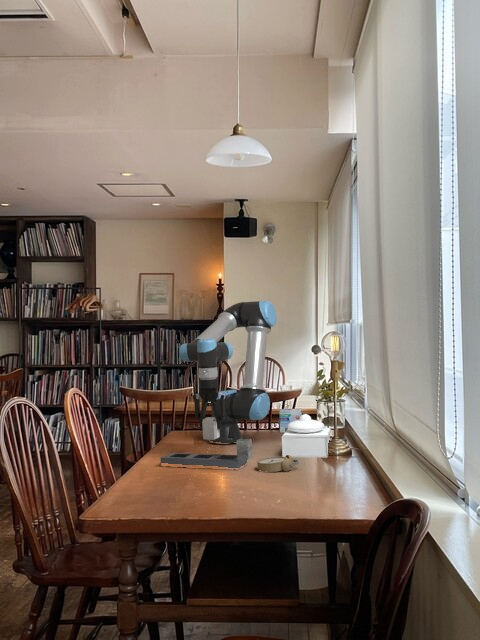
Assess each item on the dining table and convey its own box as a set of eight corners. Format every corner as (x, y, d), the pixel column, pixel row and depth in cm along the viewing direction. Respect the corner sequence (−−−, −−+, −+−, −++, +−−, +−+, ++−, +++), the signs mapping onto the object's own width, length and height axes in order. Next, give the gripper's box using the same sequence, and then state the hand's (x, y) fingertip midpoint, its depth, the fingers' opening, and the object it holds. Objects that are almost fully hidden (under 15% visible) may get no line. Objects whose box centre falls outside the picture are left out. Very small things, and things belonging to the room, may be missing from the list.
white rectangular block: (241, 459, 243) (240, 438, 243) (252, 459, 241) (251, 438, 241) (237, 461, 238) (236, 440, 239) (248, 462, 237) (247, 440, 237)
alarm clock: (258, 458, 230) (298, 450, 227) (261, 471, 230) (301, 464, 227) (253, 464, 219) (295, 457, 216) (256, 478, 219) (298, 471, 216)
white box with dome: (288, 449, 261) (286, 411, 261) (331, 449, 257) (329, 410, 257) (282, 457, 243) (280, 417, 244) (328, 458, 240) (326, 416, 240)
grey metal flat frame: (172, 461, 242) (171, 452, 242) (247, 464, 232) (246, 455, 232) (160, 466, 233) (160, 457, 233) (238, 470, 223) (237, 460, 223)
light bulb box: (279, 432, 301) (278, 410, 301) (281, 430, 308) (280, 408, 308) (301, 432, 299) (301, 410, 300) (302, 430, 306) (301, 408, 306)
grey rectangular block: (208, 437, 248) (207, 417, 248) (218, 437, 246) (217, 417, 246) (203, 439, 244) (202, 419, 244) (214, 439, 242) (213, 419, 242)
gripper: (184, 379, 244) (187, 438, 245) (225, 379, 239) (228, 439, 239) (191, 377, 252) (194, 435, 252) (232, 377, 246) (235, 436, 246)
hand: (211, 437), depth 245 cm, fingers closed on grey rectangular block, 4 cm apart
